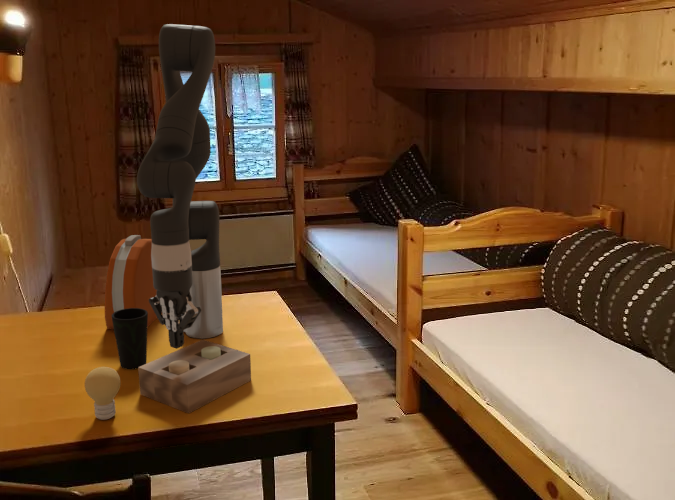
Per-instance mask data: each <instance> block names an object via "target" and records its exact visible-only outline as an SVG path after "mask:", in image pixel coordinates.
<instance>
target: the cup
mask: <svg viewBox="0 0 675 500" xmlns="http://www.w3.org/2000/svg"><path fill="white" fill-rule="evenodd" d="M112 322H113V327H114V329H113V332H114V337H115V342H116V349H117V353H118V354H117V355H118V359H119V364H120V368H122V369H124V370H138V367H140V366H142V365H144V364H147V355H148V354H147V351H148V349H147V348H148V346H147V345H148V327H147V323H148V312H147V311H146V310H144V309H140V308H128V309H122V310H118V311H116V312H114V313H113V314H112Z"/></svg>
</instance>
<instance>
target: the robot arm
mask: <svg viewBox="0 0 675 500" xmlns="http://www.w3.org/2000/svg"><path fill="white" fill-rule="evenodd" d="M158 53H159V62H160V69H161V74H162V83H163V89H164V95H165V103H164V105H163V106H162V108H161V110H160V113H159V115H158V119H157V125H156V130H155V134H154V135H155V136H154V139H153V141H152V144H151V145H150V148H149V149H148V151H147V153H146V154H145V156H144V157H143V160H142V161H141V163H140V166H139V167H138V171H137V176H136V185H137V188H138V191H139V192H140V193H141V195H142V196H144V197H145V198H150V199H172V207H170V208H169V207H168V208H164V209H159V210H156V211H154V212H152V213H151V215H150V220H149V221H150V222H149V223H150V237H151V238H150V239H152V249H151V259H152V274H153V286H154V288H155V289H156V290H157V291H156V296H155V297H152V298H150V299H149V303H150V305H151V307H152V309H153V311H154V312H155V314H156V316H157V320H158V322H159V323H160V325H161V326H163V325H164V326H165V328H166V330H168V331H167V332H168V342H169V346H170V348H173V349H177V350H178V349H179V348H183V346H184V344H185V335H184V333H185V334H186V336H188V337H189V338H193V339H209V338H215V337H218V336H219V335H221V334H223V332H224V322H223V301H222V300H223V299H222V298H223V296H222V277H221V276H222V273H221V258H220V257H221V256H220V253H221V252H220V210H219V209H220V208H219V206H218V204H217V203H216V201H214V200H196V201H195V200H194V201H192V197H193V195H194V190H195V186H196V182H197V181H196V180H197V179H198V177H199V175H200V174H201V173H202V171H203V170H204V168H205V167H206V165H207V163H208V162H209V159H210V157H211V151H212V150H211V130H210V126H209V125H210V124H209V123H208V121H207V119H206V117H205V116H204V114H203V113H202V111H201V109H200V108H201V107H200V106H201V103H202V100H203V98H204V95H205V92H206V89H207V86H208V82H209V80H210V76H211V73H212V70H213V67H214V62H215V58H216V40H215V35H214V32H213V30H212V28H209V27H207V26H201V25H187V24H173V23H169V24H168V23H167V24H163V26H162V27H161V28H160V30H159V36H158ZM181 72H191V74H190V76H189V78H188V79H187V80H186V81H185V82H184V81H183V78H182V75H181ZM195 240H196V241H197V240H206V241H205V242H204V243H203V244H202V245H200V246H199V247H197V248H194V249H191V245H190V241H195Z"/></svg>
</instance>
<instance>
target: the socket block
mask: <svg viewBox="0 0 675 500" xmlns="http://www.w3.org/2000/svg"><path fill="white" fill-rule="evenodd" d="M209 346H216V347H219V348H220V349H221V356H219V357H217V358H215V359H212V360H209V359H206V358H203V357H202V355H201V350H202V349H203V348H205V347H209ZM178 360H184V361H187V362H189V371H187V372H185V373H182V374H180V375H176V374H173V373H170V372H169V364H170V363H171V362H173V361H178ZM251 362H252V361H251V353H248V352H245V351H242V350H238V349H236V348H231V347H228V346H225V345H222V344H218V343H216V342H213V341H209V340H206V339H201V340H198V341H195V342H194V343H191V344H189V345H186V346H184V347H181V348H180V349H179V348H178V349H177V350H175V351H173V352H171V353H168V354H166V355H163V356H161V357H158V358H157V359H154V360H152V361H150V362H146V364H144V365H142V366H140V367H138V369H137V372H138V380H139V381H138V383H139V394H140V395H141V396H143V397H146V398H148V399H151V400H154V401H156V402H158V403H161V404H164V405H166V406H169V407H171V408H174V409H176V410H179V411H181V412H184V413H187V414H190V413H192V412H194V411H196V410H198V409H200V408H201V407H203V406H206V405H207V404H209V403H211V402H213V401H214V400H217V399H218V398H221V397H222V396H225V395H226V394H228V393H230V392H232V391H233V390H235V389H238V388H239V387H241V386H243V385H244V384H247V383H249V382H251V381H252V365H251V364H252V363H251Z"/></svg>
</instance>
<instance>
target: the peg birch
mask: <svg viewBox="0 0 675 500" xmlns="http://www.w3.org/2000/svg"><path fill="white" fill-rule="evenodd" d="M187 371H189V362H187V361H184V360H178V361H173V362H171V363H170V364H169V372H170V373H173V374H176V375H180V374H182V373H185V372H187Z"/></svg>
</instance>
